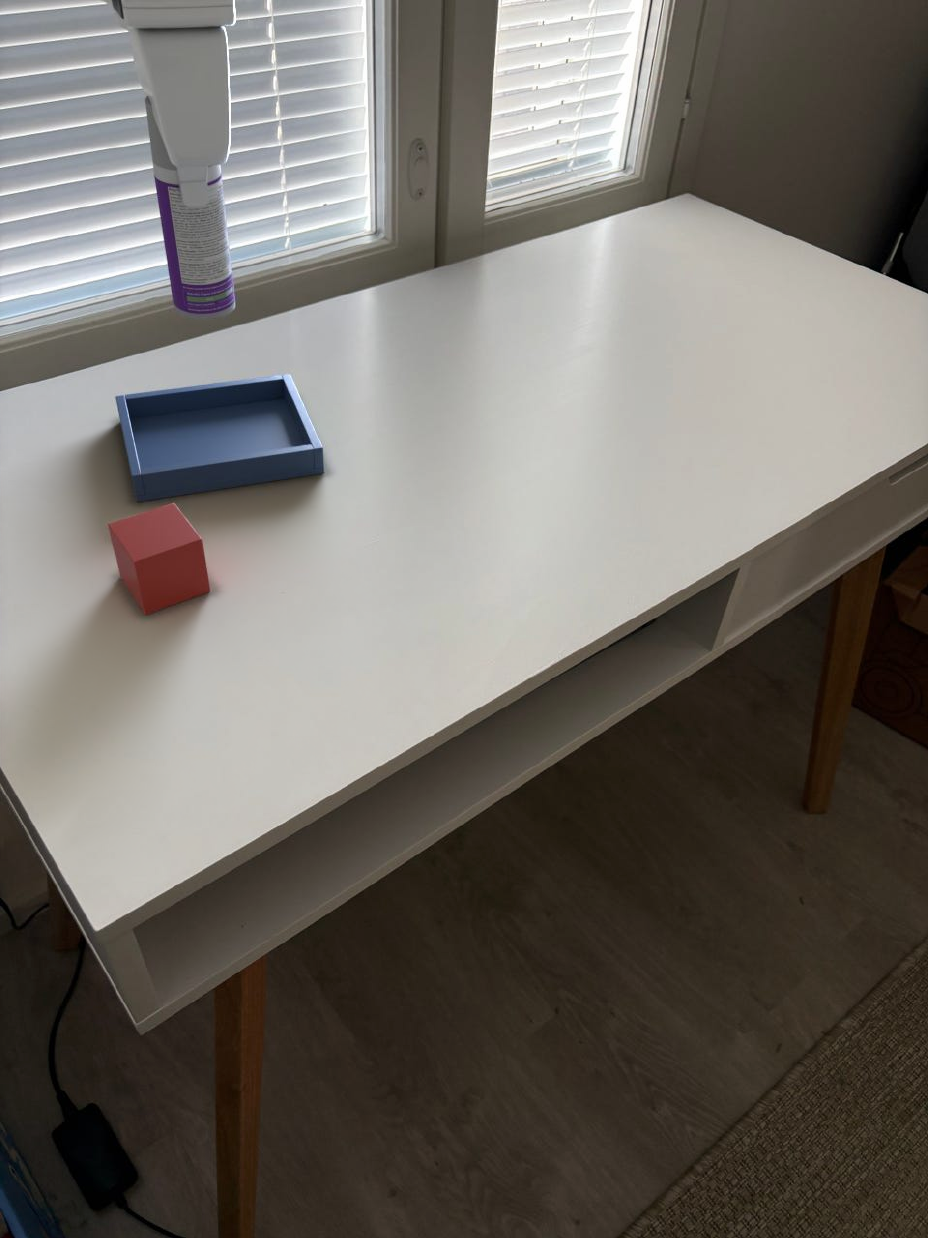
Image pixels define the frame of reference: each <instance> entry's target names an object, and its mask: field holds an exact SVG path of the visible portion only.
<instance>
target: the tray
mask: <svg viewBox="0 0 928 1238" xmlns="http://www.w3.org/2000/svg"><path fill="white" fill-rule="evenodd" d="M114 400H115V405H116V408H117V412H118V418H119V423H120V427H121V433H122V437H123V443H124V447H125V453H126V456H127V461H128V466H129V472H130V476H131V480H132V487H133V490H134V491H133V492H134V495H135V496H134V497H135V500H136V502H137V503H140V502H141V503H142V502H147V501H153V500H159V499H166V498H173V497H179V496H186V495H192V494H198V493H204V492H211V491H217V490H223V489H224V490H225V489H230V488H237V487H244V486H249V485H255V484H261V483H268V482H269V483H270V482H274V481H281V480H288V479H293V478H295V479H296V478H299V477H306V476H313V475H318V474H324V473H325V464H324V463H325V462H324V448H323V446H322V442H321V440H320V438H319V436H318V433H317V431H316V430H315V427H314V425H313V423H312V421H311V418H310V416H309V414H308V411H307V409H306V407H305V405H304V402H303V400H302V398H301V396H300V394H299V391H298V389H297V387H296V385H295V382H294V381H293V378H292V375H291V374H290V373H287V374H278V375H277V374H276V375H270V376H262V377H255V378H253V377H252V378H245V379H237V380H231V381H230V380H229V381H222V382H215V383H206V384H198V385H191V386H183V387H175V388H167V389H158V390H151V391H144V392H136V393H127V394H122V395H116V396H115V398H114Z"/></svg>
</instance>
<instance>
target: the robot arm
mask: <svg viewBox="0 0 928 1238" xmlns="http://www.w3.org/2000/svg"><path fill="white" fill-rule="evenodd" d="M100 1H101V2H104V3H105V4H106V5H108V7H110V8H111V9H112V10H113V11H114V16H115V21H116V24H117V25H118V26H119V28H122V29H124V30H126V31H127V32H128V34H129V37H130V44H131V51H132V58H133V64H134V69H135V72H136V77H137V78H138V80H139V81H138V82H139V83H140V86H141V88H142V91H143V93H144V96H145V98H146V97H147V96H148V98H149V100H150V103H151V105H152V112H153V115H154V118H155V121H156V124H157V126H158V129H159V131H160V134H161V137H162V139H163V142H164V144H165V147H166V149H167V152H168V155H169V157H170V160H171V162H172V164H173V165H175V166H176V167H177V173H178V174H177V176H178V183H179V191H180V196H181V199H182V202H183V203H184V205H185V206H187V207H203V206H206V205H207V204H208V202H209V196H208V187H207V171H208V166H213V165H220V166H222V165H224V164H225V163H227V161H228V159H229V155H230V148H231V137H232V136H231V135H232V134H231V133H232V131H231V129H232V127H231V125H232V124H231V88H230V85H231V84H230V60H229V44H228V35H227V30H226V27H229V26H230V27H231V26H234V25H235V24H236V6H235V5H236V4H235V0H100Z"/></svg>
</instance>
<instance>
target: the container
mask: <svg viewBox="0 0 928 1238" xmlns="http://www.w3.org/2000/svg"><path fill="white" fill-rule="evenodd" d="M144 105H145V114H146V121H147V128H148V129H147V130H148V139H149V146H150V153H151V161H152V170H153V177H154V185H155V190H156V197H157V204H158V210H159V217H160V224H161V229H162V230H161V231H162V236H163V237H162V238H163V243H164V250H165V256H166V263H167V269H168V277H169V283H170V289H171V295H172V302H173V307H174V311H175V312H176V313H177V314H178V315H179V316H180V317H183V318H186V319H188V320H194V321H211V320H218V319H220V318H223V317H227V316H228V315H230V314H231V313H232V312H233V311H234V310H235V309H236V297H235V289H234V279H233V278H234V277H233V270H232V269H233V268H232V259H231V250H230V241H229V240H230V239H229V231H228V222H227V211H226V203H225V194H224V184H223V183H224V182H223V174H222V173H223V172H222V167H221V165H213V166H208V171H207V187H208V196H209V202H208V204H207V205H206V206H203V207H187V206H185V205H184V203H183V202H182V199H181V196H180V191H179V183H178V176H177V174H178V173H177V167H176V166H175V165H173V164H172V162H171V160H170V157H169V155H168V152H167V149H166V147H165V144H164V142H163V139H162V137H161V134H160V131H159V129H158V126H157V124H156V121H155V118H154V115H153V112H152V105H151V103H150V100H149V98H148V96H147V97H146V96H145V97H144Z"/></svg>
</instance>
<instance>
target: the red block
mask: <svg viewBox="0 0 928 1238" xmlns="http://www.w3.org/2000/svg"><path fill="white" fill-rule="evenodd" d="M107 527H108V531H109V536H110V540H111V544H112V549H113V553H114V557H115V562H116V565H117V569H118V574H119V577H120V579H121V580H122V582H123V583H124V585H125V586H126V588H127V589H128V591H129V592H130V594H131V595H132V598H133V599H134V600H135V601H136V603H137V604H138V606H139V607H140V609H141V611H142V612H143V613H144V615H145V616H147V615H151V614H153V613H156V612H158V611H161V610H164V609H167V608H169V607H172V606H174V605H177V604H180V603H183V602H185V601H188V600H190V599H193V598H197V597H199V596H202V595H204V594H207V593H210V592H211V587H210V581H209V574H208V567H207V561H206V556H205V549H204V543H203V542H204V541H203V539H202V537H201V536H200V534H199V533H198V532H197V530H196V529H195V528H194V527H193V525H192V524H191V522H190V521H189V520H188V519H187V518H186V516H185V515H184V514H183V513H182V511H181V510H180V509H179V508H178V506H177V505H176V504H175V502H172V503H169V504H165V505H161V506H158V507H156V508H152V509H150V510H146V511H143V512H140V513H137V514H134V515H131V516H128V517H124V518H122V519H119V520H116V521H113V522H109V523H107Z"/></svg>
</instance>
